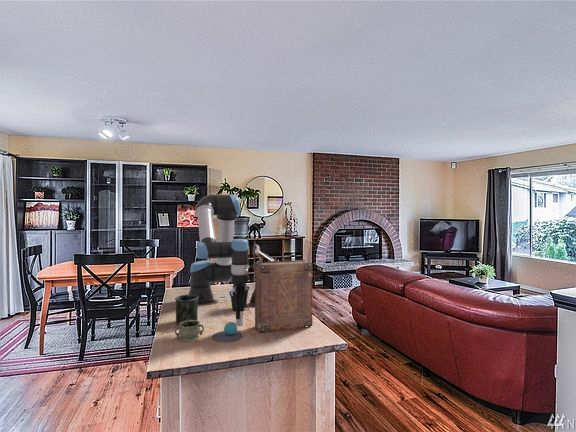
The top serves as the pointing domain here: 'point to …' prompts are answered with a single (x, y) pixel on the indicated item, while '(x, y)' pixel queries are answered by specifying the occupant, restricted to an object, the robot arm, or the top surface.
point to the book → (283, 295)
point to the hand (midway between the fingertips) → (239, 325)
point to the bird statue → (261, 256)
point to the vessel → (189, 330)
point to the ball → (230, 328)
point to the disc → (227, 336)
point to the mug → (186, 308)
